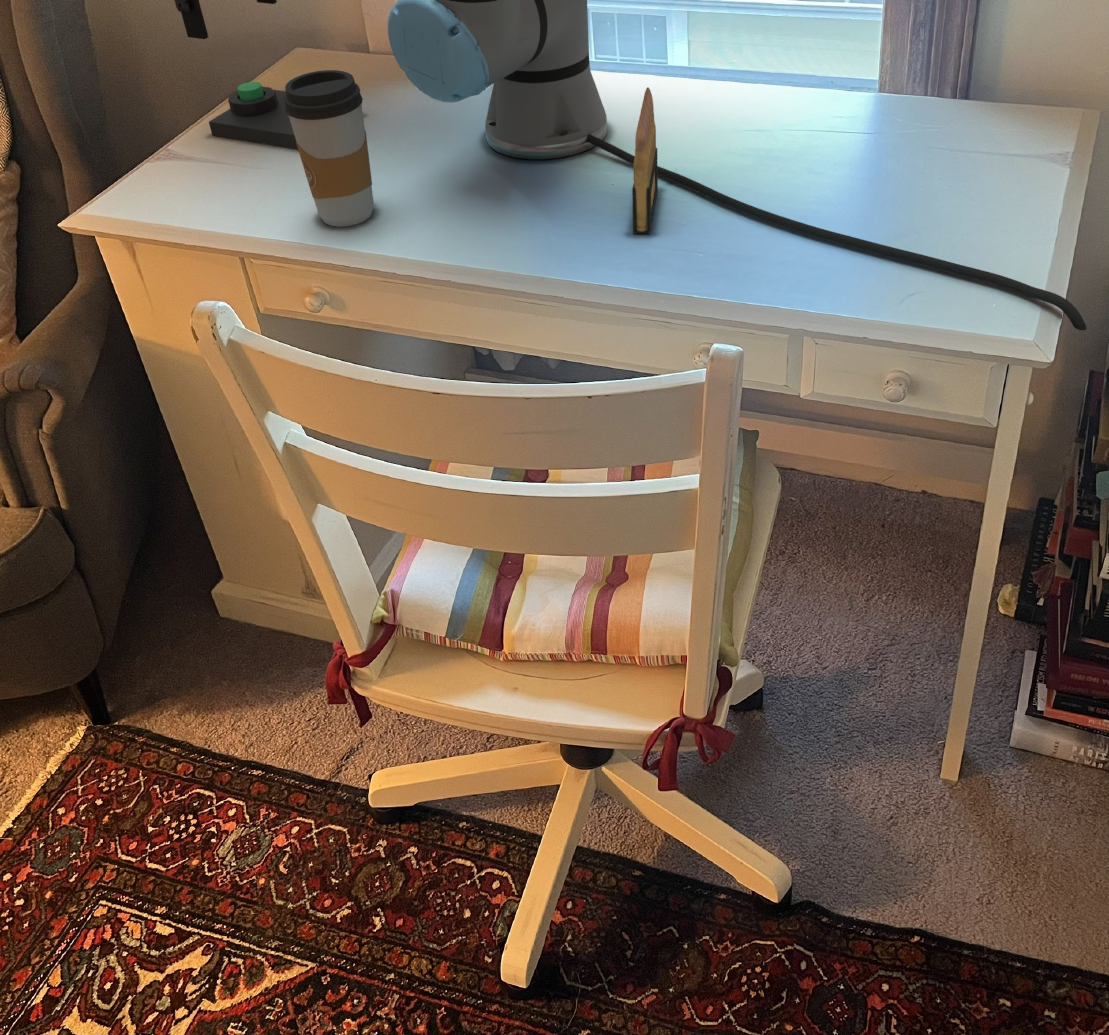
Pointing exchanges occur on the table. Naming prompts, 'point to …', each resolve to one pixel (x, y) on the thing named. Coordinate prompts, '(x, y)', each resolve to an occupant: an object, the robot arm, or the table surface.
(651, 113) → the ammunition clip
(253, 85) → the button
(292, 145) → the scale
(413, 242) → the table surface
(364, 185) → the coffee cup
